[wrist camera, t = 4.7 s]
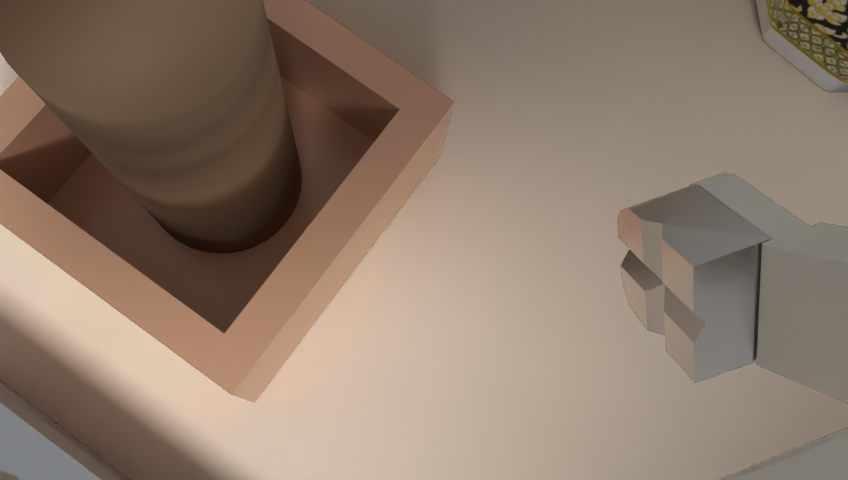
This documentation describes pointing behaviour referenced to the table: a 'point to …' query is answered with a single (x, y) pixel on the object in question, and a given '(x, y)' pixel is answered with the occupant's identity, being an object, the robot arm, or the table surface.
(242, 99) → the canister
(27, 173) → the holder cup
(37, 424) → the tray
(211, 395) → the table surface
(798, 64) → the ceramic cup
